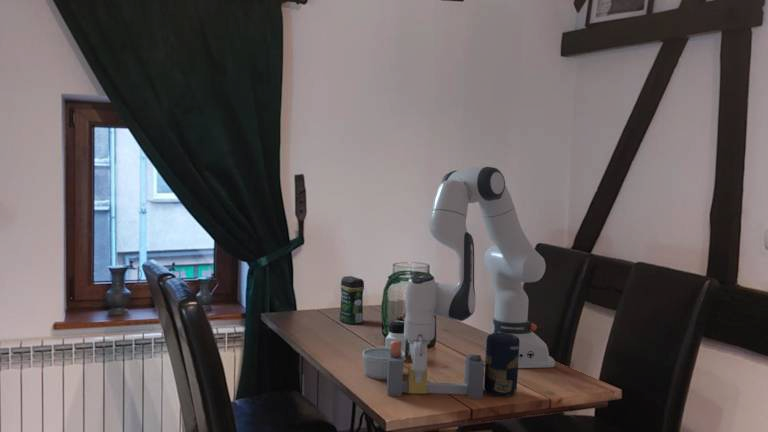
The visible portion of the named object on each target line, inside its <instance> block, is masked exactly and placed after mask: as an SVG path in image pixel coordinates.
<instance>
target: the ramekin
mask: <svg viewBox="0 0 768 432" xmlns="http://www.w3.org/2000/svg"><path fill="white" fill-rule="evenodd" d="M388 352H390V348H385V347H371V348H370V347H369V348H367V349H364V350H363V351H362V360H363V370H364V371H363V372H364V373H365V374H366V376H367V377H369V378H371V379H376V380H387V373H388ZM401 353H402V357H403V364H404V361H405V360H404V359H405V353H404V352H403V351H401Z"/></svg>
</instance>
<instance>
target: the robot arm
mask: <svg viewBox="0 0 768 432" xmlns="http://www.w3.org/2000/svg"><path fill="white" fill-rule="evenodd" d="M510 193H511V192H510V191H509V190H508V187H507V186H506V180H505V177H504V175H503V173H502V172H501V171H500V170H499V169H498V168H496V167H493V166H484V167H483V166H482V167H479V166H477V167H476V166H475V167H469V168H464V169H461V170H460V169H459V170H453V171H450V172H448V173H446V174H445V175H444V176H443V178H442V179H441V183H440V184H439V185H438V188H437V190H436V192H435V195H434V198H433V201H432V205H431V210H430V215H429V219H428V220H429V221H428V229H429V231H430V234H431V236H432V237H433V238H434V239H435V240H436V241H437V242H439V243H441V244H443V245H444V246H446V247H448V248H449V249H451V250H453V251H455V253H456V255H457V257H458V274H457V275H458V276H457V277H458V283H457V284H456V285H455V284H447V283H442V282H441V283H440V282H437V281H436V278H435V276H433V275H431V274H429V273H416V274H413V275H411V276H410V277H409V278H408V280H407V286H406V291H405V301H404V307H405V317H404V321H403V322H404V337H405V338H407V339H408V343H409V355H410V357H411V362H412V363H411V364H413V369H414V371H415V382H416V383H421V379H422V373H423V372H426V370H427V371H428V345H429V344H430V342H431V340H433V339H434V338H435V329H436V318H435V317H436V316H437V317H442V318H443V317H444V318H449V319H451V320H455V321H459V322H464V321H465V320H467V319H469V318H470V317H471V316H473V314H474V313H475V311H476V290H475V243H474V238H473V236H472V234H471V233H469V232H468V229H467V217H468V209H469V208H468V207H469V204H474V203H478V206H479V207H478V208H479V211H480V214H481V217H482V220H483V224H484V227H485V230H486V233H487V236H488V238H489V240H490V241H492V242H493V243H494V245H492V246H490V247H489V248H488V249H487V250H486V251H485V254H484V257H483V260H484V261H483V263H484V266H485V268H487V270H488V272H489V274H490V278H491V280H492V281H491V282H492V286H493V291H494V317H493V318H492V326H491V334H493V333H499V332H501V333H506V334H511V335H515V336H517V337H518V338H519V341H520V344H519V358H518V369H534V368H535V369H537V368H539V369H541V368H554V367H556V360H555V359H554V358H553V357H552V356H550V355H549V354H550V353H549V348H548V345H547V344H546V343H545V341H543V340H542V339H541V338H540V337H539V336H538V335H537V334H536V333H534V332H533V331H536V330H537V328H538V326H537V325H536V323H533V322H532V321H530V320H528V317H529V316H528V315H529V297H528V294H527V293H526V291H525V290H524V287H523V284H522V283H536V282H538V281H540V280H541V279H542V278H543V276H544V274H545V272H546V266H547V265H546V261H545V259H544V257H543V256H542V255H541V254H540V253H539V252H538V251H537V250H536V249H535V248H534V246H533V245H532V243H531V242H530V240H529V238H528V237H527V235H526V234H525V232H524V231H523V228H522V226H521V223H520V220H519V217H518V214H517V210H516V207H515V204H514V201H513V198H512V197H511V196H512V195H511V194H510Z"/></svg>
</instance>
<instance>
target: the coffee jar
mask: <svg viewBox="0 0 768 432" xmlns="http://www.w3.org/2000/svg"><path fill="white" fill-rule="evenodd" d="M340 289H341V294H340V296H341V297H340V309H339V310H340V311H339V320H340V321H341V322H343V323H344V324H347V325H348V324H349V325H351V324H352V325H359V324H361V323H363V319H364V317H363V315H364V313H363V310H364V309H363V307H364V306H363V305H364V302H363V300H364V299H363V296H364V289H365V281H364V280H363V279H362V278H359V277H355V276H352V275H348V276H347V275H346V276H343V277H342V278H341V281H340Z"/></svg>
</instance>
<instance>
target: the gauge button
mask: <svg viewBox="0 0 768 432" xmlns="http://www.w3.org/2000/svg"><path fill="white" fill-rule="evenodd" d="M401 349H402V342H401V341H398V340H393V341H391V347H390V356H392V357H400V356H401Z"/></svg>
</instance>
